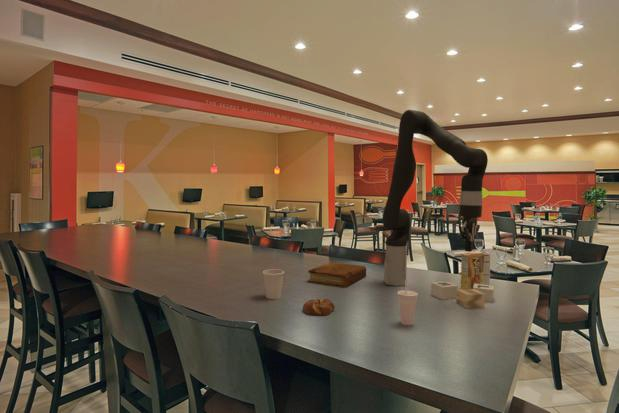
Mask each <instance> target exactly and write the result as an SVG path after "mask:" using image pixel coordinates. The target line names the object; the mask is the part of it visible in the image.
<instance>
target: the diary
mask: <svg viewBox="0 0 619 413" xmlns="http://www.w3.org/2000/svg"><path fill="white" fill-rule="evenodd" d="M308 274H309V280H308V281H307V282H308V283H312V284H320V285H325V286H332V287H341V288H346V289H347V287H349V286H351V285H354V284H355V283H357V282H358V281H360V280H362V279H364V278H365V277H367V267H366V266H365V265H359V264H353V263H352V264H350V263H342V262H341V263H340V262H332V261H331V262H327V263H325V264H323V265H320V266H317V267H315V268H312V269H310V270H308Z"/></svg>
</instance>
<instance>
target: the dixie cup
mask: <svg viewBox="0 0 619 413" xmlns="http://www.w3.org/2000/svg"><path fill="white" fill-rule="evenodd" d="M262 274H263V275H262V276H263V283H264V289H265V297H266V299H268V300H270V299H271V300H278V299H280V298H281V297H282V292H283V291H282V289H283V282H284V275H285V271H284V270H282V269H279V268H278V269H276V268H275V269H274V268H271V269H265V270H263V271H262Z"/></svg>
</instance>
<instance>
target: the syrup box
mask: <svg viewBox="0 0 619 413" xmlns="http://www.w3.org/2000/svg"><path fill="white" fill-rule="evenodd" d="M476 252H477V253H482V254H484V266H483V285H491V253H490V252H488V251H486V250H475V251H474V252H473V253H476Z"/></svg>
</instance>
